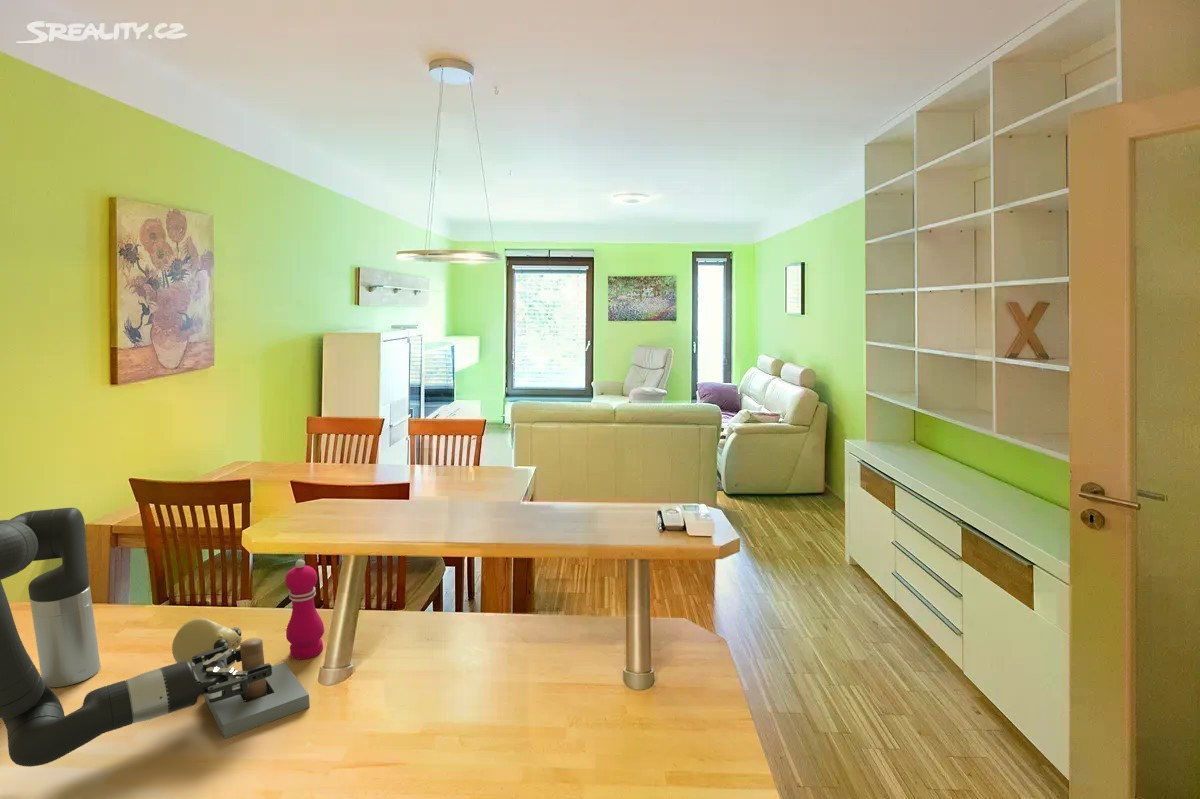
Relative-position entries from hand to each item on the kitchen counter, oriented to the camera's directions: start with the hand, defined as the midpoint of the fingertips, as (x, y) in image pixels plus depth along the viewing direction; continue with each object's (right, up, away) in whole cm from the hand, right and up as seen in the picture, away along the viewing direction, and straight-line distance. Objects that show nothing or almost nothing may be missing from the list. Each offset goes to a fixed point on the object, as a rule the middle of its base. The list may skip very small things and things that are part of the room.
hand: (264, 658), depth 131 cm
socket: (-1, -8, 0) cm, 8 cm away
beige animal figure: (-16, -6, +12) cm, 21 cm away
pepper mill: (0, -5, +18) cm, 19 cm away
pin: (-1, -8, 0) cm, 8 cm away
